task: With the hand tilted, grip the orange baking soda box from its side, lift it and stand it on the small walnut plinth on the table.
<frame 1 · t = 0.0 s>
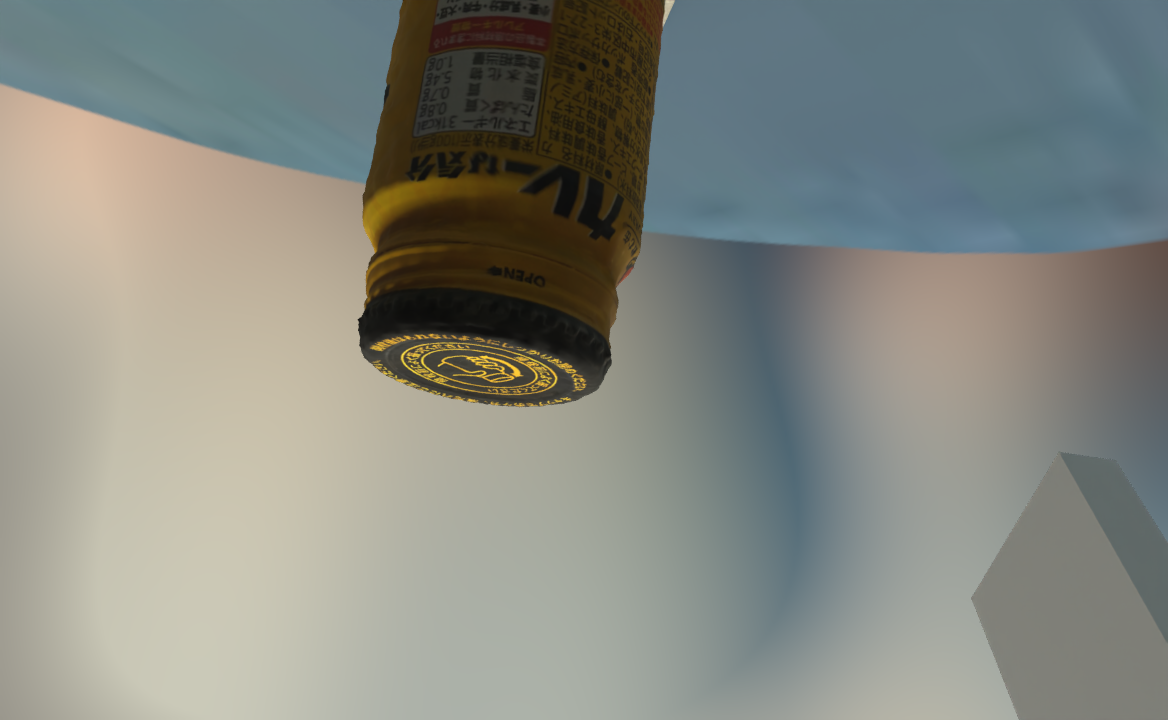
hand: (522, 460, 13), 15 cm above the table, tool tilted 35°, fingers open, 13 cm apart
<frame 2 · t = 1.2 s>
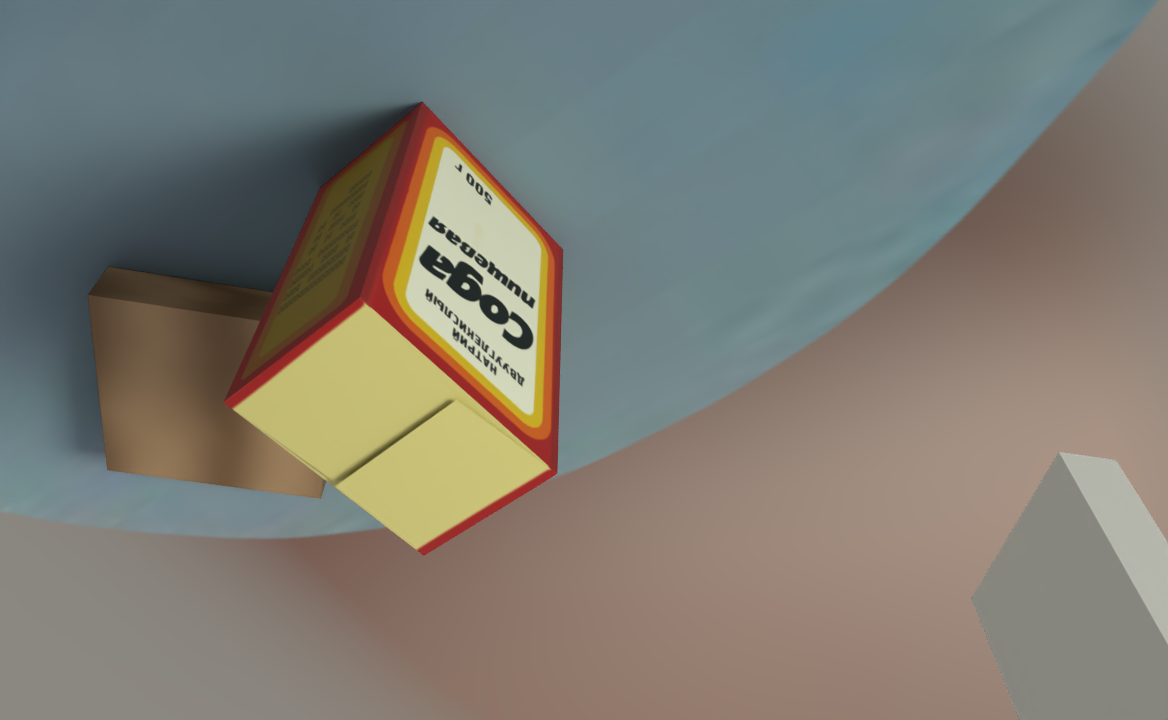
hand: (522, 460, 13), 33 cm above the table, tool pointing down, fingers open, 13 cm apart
plinth: (227, 374, 53), on the table
baking soda box: (444, 217, 48), on the table
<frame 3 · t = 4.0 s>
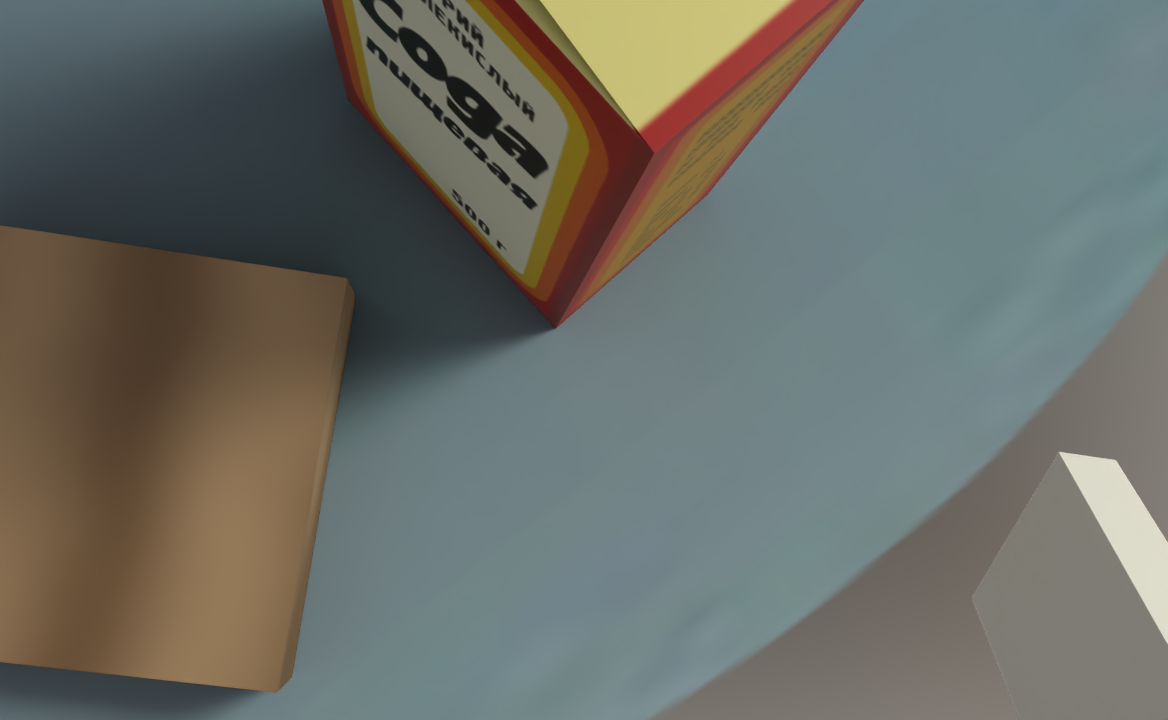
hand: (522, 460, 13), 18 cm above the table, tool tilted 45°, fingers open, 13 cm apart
plinth: (128, 455, 29), on the table
baking soda box: (530, 149, 32), on the table
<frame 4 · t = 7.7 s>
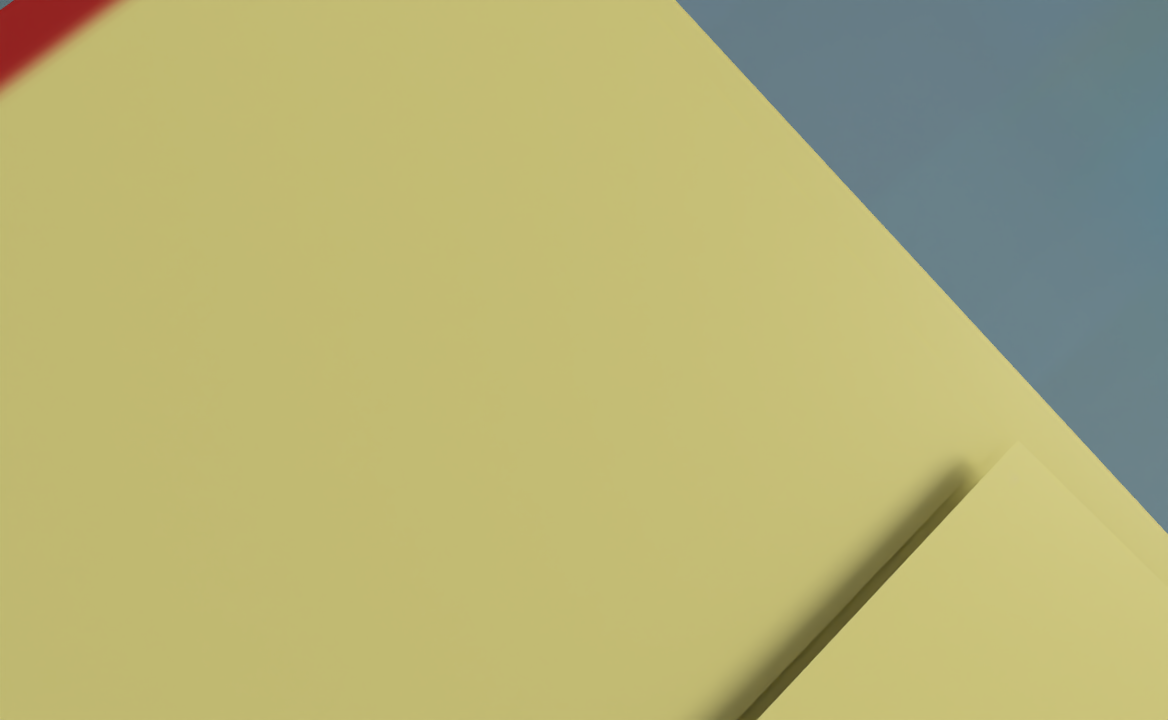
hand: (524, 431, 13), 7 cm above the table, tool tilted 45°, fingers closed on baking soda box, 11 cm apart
baking soda box: (479, 599, 20), on the table, touching gripper
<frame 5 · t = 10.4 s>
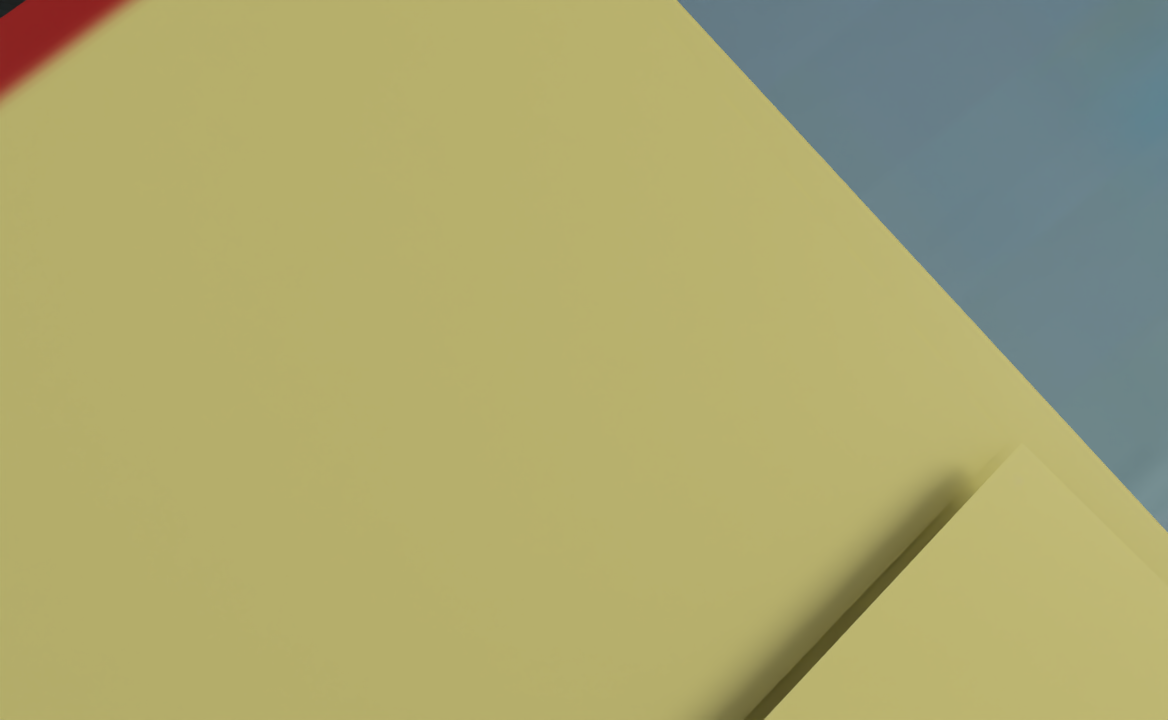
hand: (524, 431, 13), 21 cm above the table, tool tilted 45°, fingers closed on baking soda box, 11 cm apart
baking soda box: (481, 599, 20), point 14 cm above the table, touching gripper
when the fingers open (11 cm above the table, at t = 13.3 s): baking soda box stays where it is, resting on plinth.
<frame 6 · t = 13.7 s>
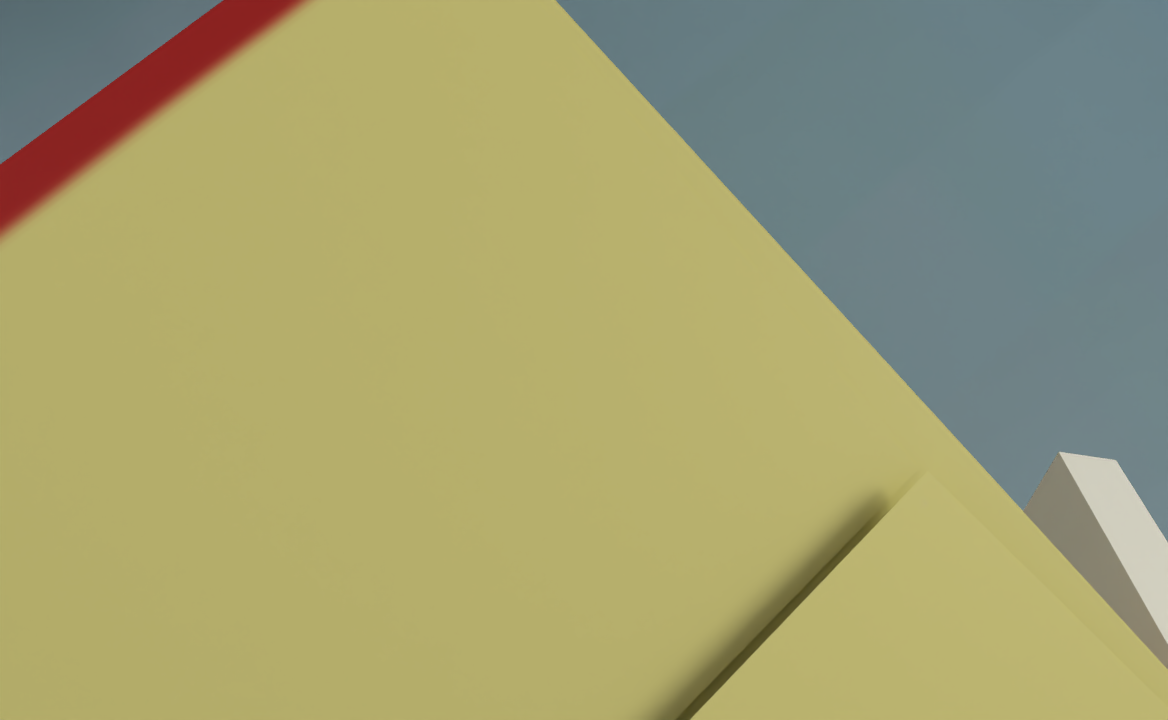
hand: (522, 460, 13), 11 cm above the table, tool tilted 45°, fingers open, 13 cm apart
baking soda box: (478, 600, 21), point 2 cm above the table, touching plinth
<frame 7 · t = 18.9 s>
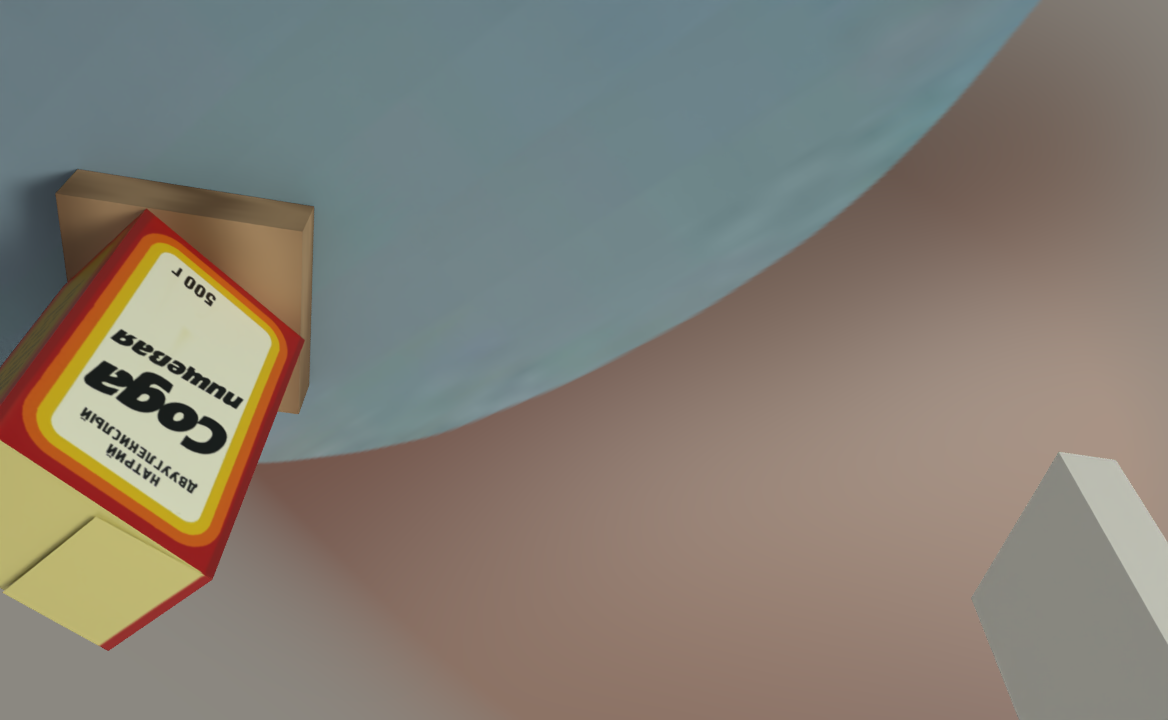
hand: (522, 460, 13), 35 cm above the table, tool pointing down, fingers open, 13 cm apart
plinth: (201, 285, 52), on the table
baking soda box: (187, 311, 50), point 2 cm above the table, touching plinth
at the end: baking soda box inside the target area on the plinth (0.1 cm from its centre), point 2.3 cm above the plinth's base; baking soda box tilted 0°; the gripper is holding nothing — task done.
